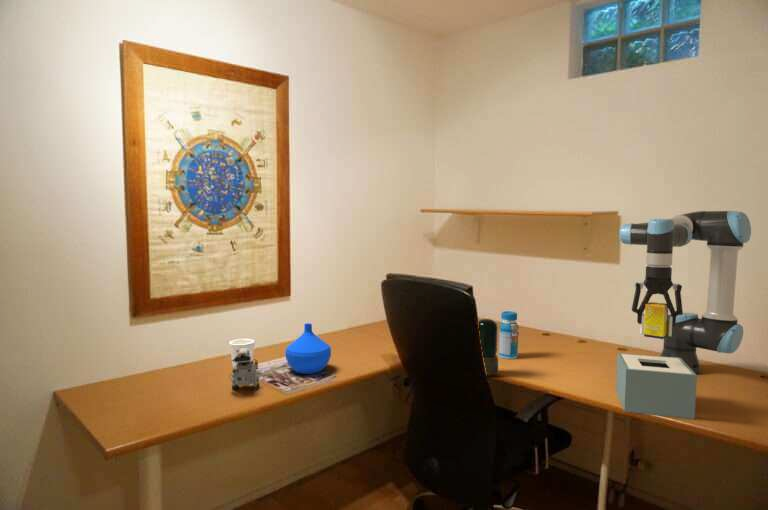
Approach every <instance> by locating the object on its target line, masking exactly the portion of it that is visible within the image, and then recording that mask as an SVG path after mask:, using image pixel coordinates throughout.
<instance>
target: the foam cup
mask: <svg viewBox="0 0 768 510" xmlns="http://www.w3.org/2000/svg"><path fill="white" fill-rule="evenodd" d="M228 343H229V345H228V346H229V347H228V349H229V350H230V351H229V352H230V356H231V357H230V358H231V362H232V363H231V364H232V368H233V367H234V366H235V365H236V363H235V361H232V360H233V359H234V357H235V355H236V354H237V352H238V351H239V350H240V348H248V349H249V350H250V352H251V353H252V357H251V361H253V360H254V359H253V358H254V349H255V340H254V339H251V338H238V339H233V340H230V341H229V342H228ZM236 350H238V351H236Z"/></svg>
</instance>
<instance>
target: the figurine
mask: <svg viewBox="0 0 768 510" xmlns="http://www.w3.org/2000/svg"><path fill="white" fill-rule="evenodd" d="M236 351H238V350H236ZM251 357H252V353H251V352H250V350H249V349H248V348H240V350H239V351H238V352H237V354H236V355H235V357H234V359H233V360H232V359H231V362H232V361H235V363H236V365H235V366H234V367H233V366H232V370H231V371H232V373H231V375H230V376H229V377H230V380H231V384H232V385H231V390H235V391H236V390H237V388H238V387H239V386H242V387H243V386H244V387H245V386H250V385H252V391H257V390H258V388H259V387H260V385H261V384H260V381H259V379H260V377H259V374H258V373H257V371H256V370H259V362H258V360H257V359H256V358H254V359H253V360H252V361H251Z"/></svg>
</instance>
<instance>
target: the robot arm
mask: <svg viewBox="0 0 768 510" xmlns="http://www.w3.org/2000/svg"><path fill="white" fill-rule="evenodd" d="M618 235H619V241H620V242H621V243H622V244H625V245H631V246H632V245H638V246H639V245H640V246H646V260H645V264H646V266H645V277H644V280H643V282H642V281H640V282H635V283H634V287H635V291H634V296H633V301H632V306H631V311H632V312H633V313H635V314H637V317H636V318H637V322H636V323H637V324H638V325H640V326H639V327H640V329H639V332H640V334H641V335H643V336H644V326H645V312H644V311H645V304H648V303H649V302H650V300H651V297H652V296H653V295H662V296H663V298H664V300H665V303H666V304H667V305H668V312H669V313H668V325H667V336H666V337H665V338H664V339H663V347H662V351H661V353H660V355H659V356H664V357H677V358H681V359H682V360H683V361H684V362H685V363H686V364H687V365H688V366H689V367H690V368H691V369H692V371H693V372H694V373H695V374H696V375H698V374H699V373H701V364H700V361H699V358H698V354H697V349H703V350H708V351H713V352H717V353H723V354H733V353H735V352H736V351H737V350H738V349H739V347H740V346H741V343H742V340H743V337H744V327H743V326H742V325H741V324H739V323H738V318H737V317H736V316H735V314H734V308H735V307H734V306H735V297H736V296H735V295H736V294H735V293H736V284H737V283H736V281H737V266H738V253H739V251H740V250H741V249H743V248H744V244H745V243H748V242H749V241H750V239H751V235H752V227H751V221H750V219H749V217H748V215H747V214H746V213H744V212H742V211H736V210H713V211H711V210H710V211H708V210H707V211H706V210H702V211H701V210H699V211H694V212H693V211H692V212H688V213H682V214H677V215H675V216H673V217H671V218H651V219H649V220H648V221H647V222H641V223H631V222H630V223H624V224H623V225H621V227H620V228H619V233H618ZM692 240H693V241H705V242H706V246H707V248H708V249H709V250H710V259H709V275H708V289H707V303H706V311H705V312H704V313H703V314H701V318H699V315H698V314H697V313H695V312H694V313H693V312H683V303H682V295H681V293H682V287H683V286H682V284H679V283H674V282H673V280H672V276H673V275H672V274H673V273H672V271H673V268H672V267H671V266H673V250H674V248H677V247H678V248H680V247H684V246H687V245H688V244H689V243H691V241H692ZM643 287H645V288H646V289H647V290H646V292H645V295H644V297H643V299H642V301H641V304H640V305H639V301H640V298H641V293H642V292H641V291H642V289H643ZM671 288H672V289H673V291H674V298H675V307H676V309H675V308H674V305H673V302H672V300H671V298H670V297H671V296H670V295H669V292H668V291H670V289H671ZM638 306H639V307H638Z"/></svg>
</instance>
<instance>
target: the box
mask: <svg viewBox="0 0 768 510" xmlns="http://www.w3.org/2000/svg"><path fill="white" fill-rule="evenodd" d="M616 358H617V359H616V360H617V362H616V382H615V383H616V384H615V392H616V394H617V397H618V399H619V401H620V404H621V407H622V409H623V412H624V413H626V412H627V413H635V414H642V415H643V414H644V415H652V416H659V417H660V416H661V417H671V418H679V419H681V418H682V419H691V420H695V419H696V417H695V416H696V399H697V385H698V384H697V383H698V381H697V380H698V374H695V373H694V372H693V371H692V369H691V368H690V367H689V366H688V365H687V364H686V363H685V362H684V361H683V360H682V359H681V358H677V357H664V356H660V355H652V354H651V355H649V354H636V353H625V352H624V353H622V352H617V357H616Z"/></svg>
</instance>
